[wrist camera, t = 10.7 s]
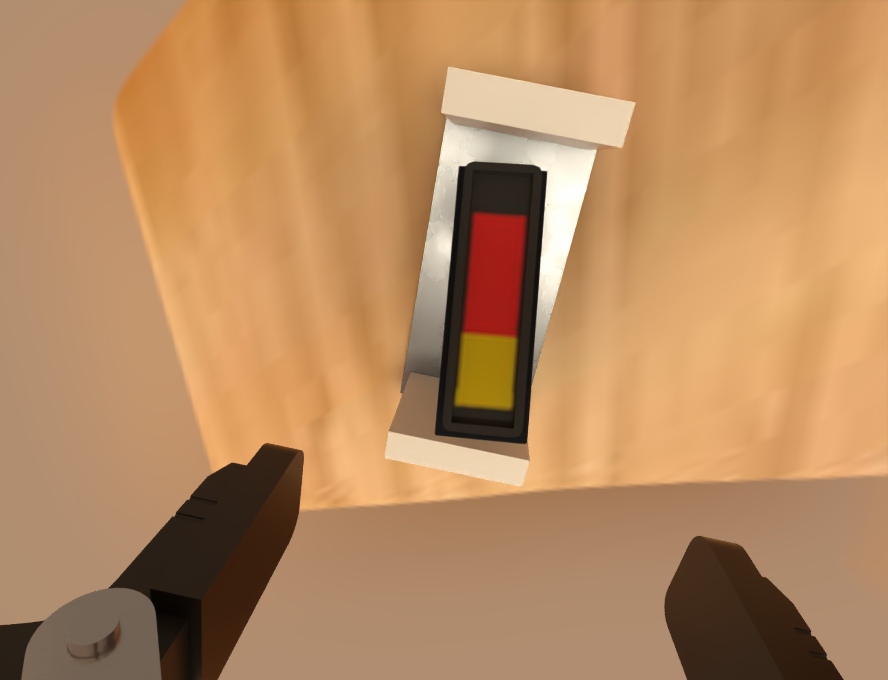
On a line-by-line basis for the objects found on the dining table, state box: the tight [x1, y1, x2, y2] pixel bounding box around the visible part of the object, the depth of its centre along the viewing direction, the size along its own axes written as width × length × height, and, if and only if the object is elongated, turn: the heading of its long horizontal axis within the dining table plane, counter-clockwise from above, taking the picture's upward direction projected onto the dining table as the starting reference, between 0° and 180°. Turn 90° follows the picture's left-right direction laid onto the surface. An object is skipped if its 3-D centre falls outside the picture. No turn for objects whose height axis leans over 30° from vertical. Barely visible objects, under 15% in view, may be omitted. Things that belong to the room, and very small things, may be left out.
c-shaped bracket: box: [385, 66, 635, 487], centre depth 28 cm, size 20×8×8 cm, turn 170°
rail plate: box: [400, 118, 597, 393], centre depth 32 cm, size 20×9×1 cm, turn 170°
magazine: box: [435, 161, 547, 444], centre depth 27 cm, size 4×13×15 cm, turn 177°
